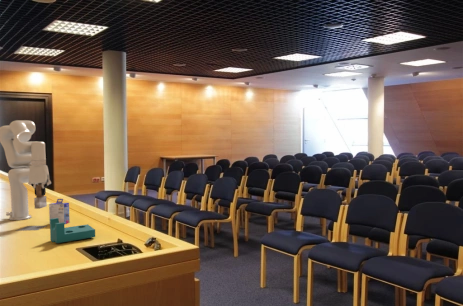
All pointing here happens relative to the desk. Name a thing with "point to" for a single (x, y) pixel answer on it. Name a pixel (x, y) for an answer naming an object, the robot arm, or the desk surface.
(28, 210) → the robot arm
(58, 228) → the teal l-shaped bracket
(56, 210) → the ink cartridge box
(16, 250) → the desk surface
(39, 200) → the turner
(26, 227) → the tool mat
